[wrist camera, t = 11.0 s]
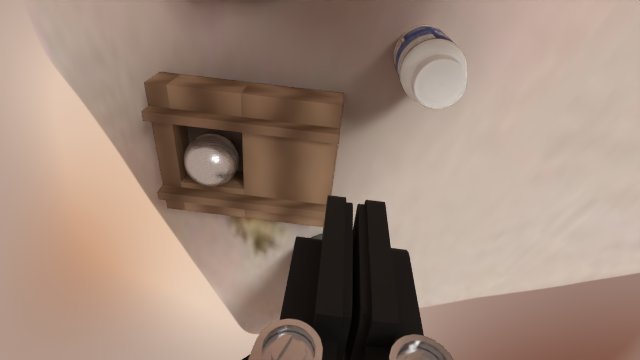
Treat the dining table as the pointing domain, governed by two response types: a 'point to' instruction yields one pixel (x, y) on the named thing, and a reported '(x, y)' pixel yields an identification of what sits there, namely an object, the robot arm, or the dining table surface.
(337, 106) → the wooden box
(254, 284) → the dining table surface
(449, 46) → the pill bottle
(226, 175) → the steel ball
